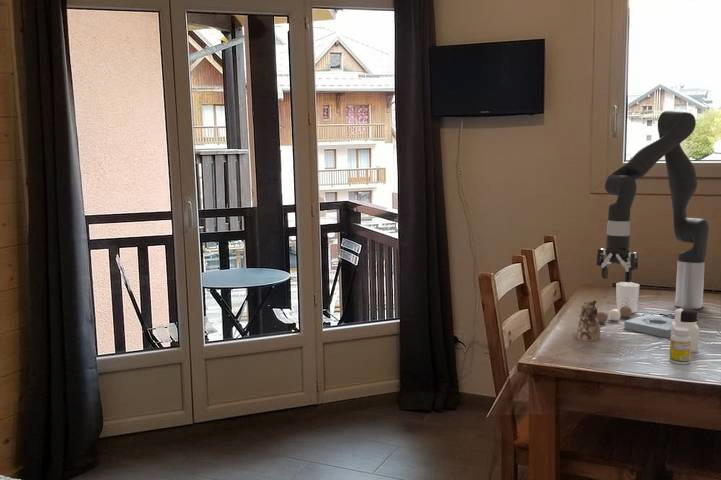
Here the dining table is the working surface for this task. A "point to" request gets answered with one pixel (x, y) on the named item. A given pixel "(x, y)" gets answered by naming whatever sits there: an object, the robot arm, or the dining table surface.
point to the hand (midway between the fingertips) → (616, 280)
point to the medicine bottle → (687, 325)
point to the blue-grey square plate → (650, 325)
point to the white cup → (627, 295)
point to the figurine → (588, 323)
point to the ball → (614, 315)
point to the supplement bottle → (680, 346)
